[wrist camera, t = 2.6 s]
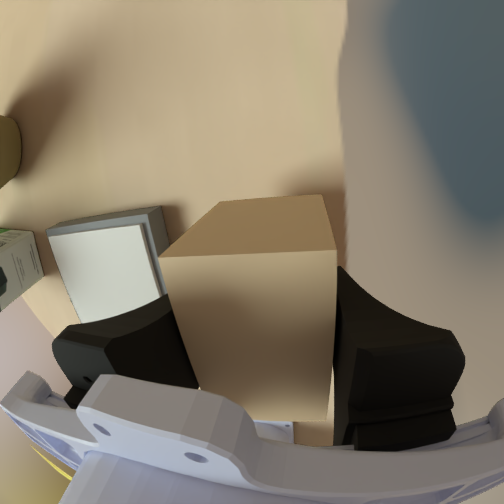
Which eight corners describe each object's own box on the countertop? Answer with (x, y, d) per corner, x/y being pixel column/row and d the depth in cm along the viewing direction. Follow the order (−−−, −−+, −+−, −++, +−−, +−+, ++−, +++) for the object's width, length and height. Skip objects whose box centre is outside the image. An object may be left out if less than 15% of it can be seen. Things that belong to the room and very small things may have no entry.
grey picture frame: (206, 372, 22) (199, 389, 20) (114, 358, 24) (104, 371, 22) (160, 205, 16) (144, 215, 15) (59, 222, 18) (42, 231, 17)
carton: (324, 326, 14) (325, 421, 9) (241, 327, 15) (211, 415, 10) (321, 194, 12) (336, 250, 6) (219, 201, 13) (157, 257, 7)
